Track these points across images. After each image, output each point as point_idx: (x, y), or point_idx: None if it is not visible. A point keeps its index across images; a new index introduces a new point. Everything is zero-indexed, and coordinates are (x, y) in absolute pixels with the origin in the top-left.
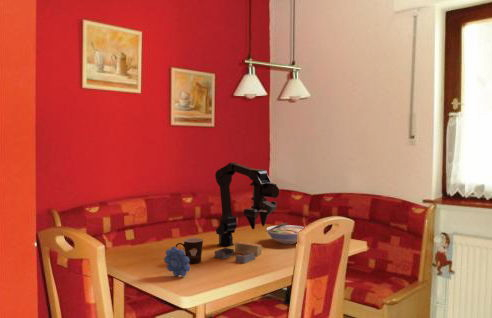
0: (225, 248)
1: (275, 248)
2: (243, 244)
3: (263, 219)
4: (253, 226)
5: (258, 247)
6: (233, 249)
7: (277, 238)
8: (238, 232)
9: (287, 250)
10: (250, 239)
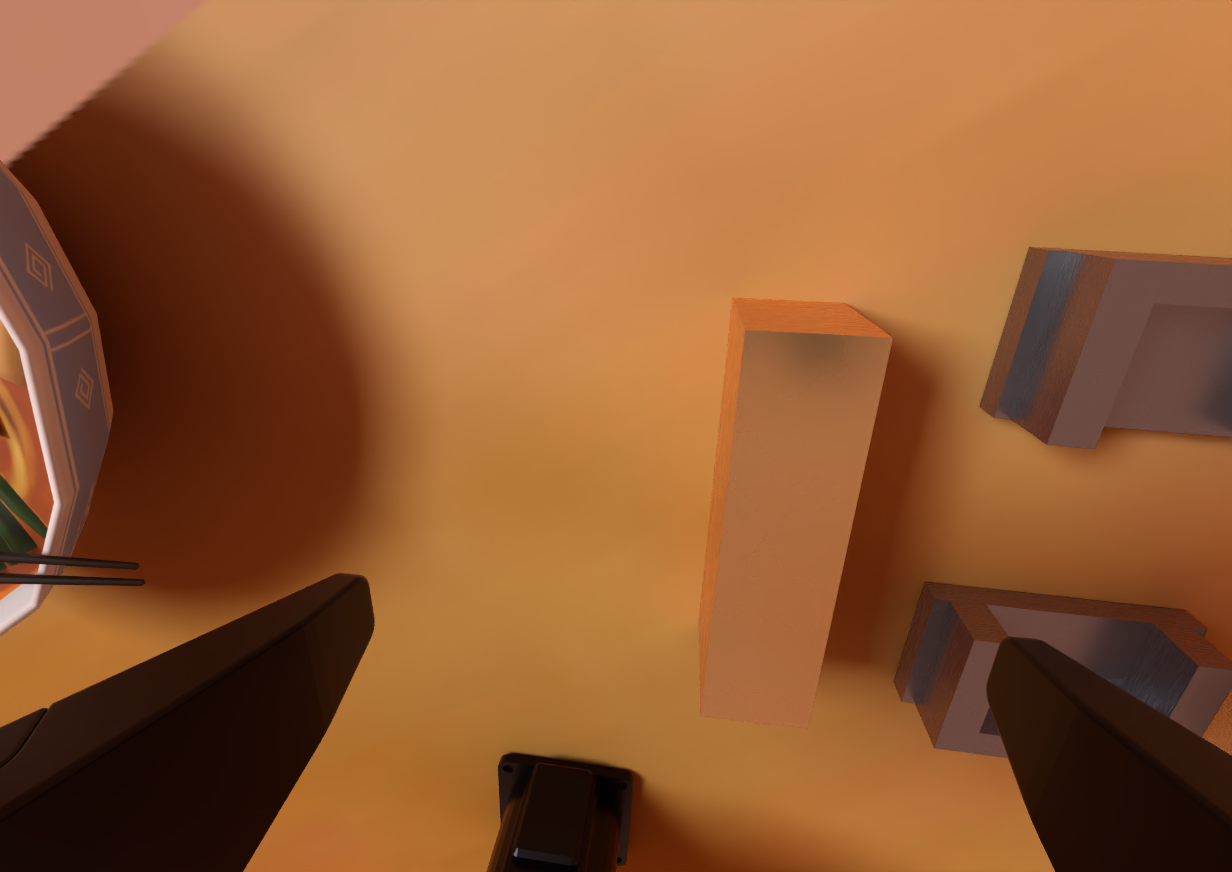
0: (974, 733)
1: (314, 291)
2: (831, 601)
3: (184, 798)
4: (1156, 732)
5: (848, 328)
6: (977, 638)
7: (96, 357)
8: None
9: (278, 57)
10: None
